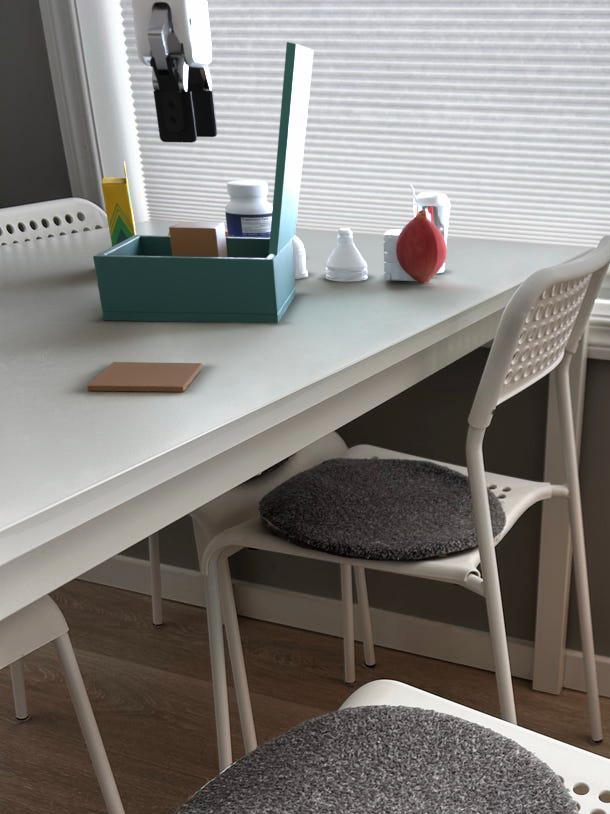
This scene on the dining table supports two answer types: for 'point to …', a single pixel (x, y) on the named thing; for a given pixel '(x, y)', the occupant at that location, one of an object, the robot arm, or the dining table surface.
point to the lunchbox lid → (290, 145)
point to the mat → (145, 377)
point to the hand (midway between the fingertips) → (190, 139)
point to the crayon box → (118, 208)
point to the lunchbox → (195, 282)
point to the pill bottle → (248, 209)
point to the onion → (421, 248)
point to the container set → (352, 259)
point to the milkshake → (434, 211)
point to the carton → (198, 239)
